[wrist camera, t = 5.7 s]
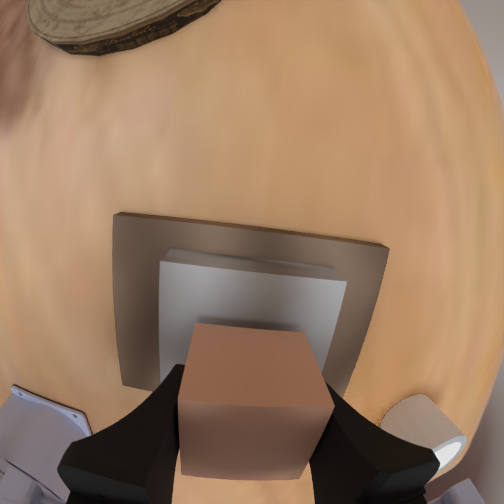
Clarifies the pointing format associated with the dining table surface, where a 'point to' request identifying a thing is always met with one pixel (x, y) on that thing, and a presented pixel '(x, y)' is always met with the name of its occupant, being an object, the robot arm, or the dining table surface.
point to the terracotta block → (250, 404)
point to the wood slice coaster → (110, 22)
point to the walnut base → (244, 240)
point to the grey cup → (425, 427)
